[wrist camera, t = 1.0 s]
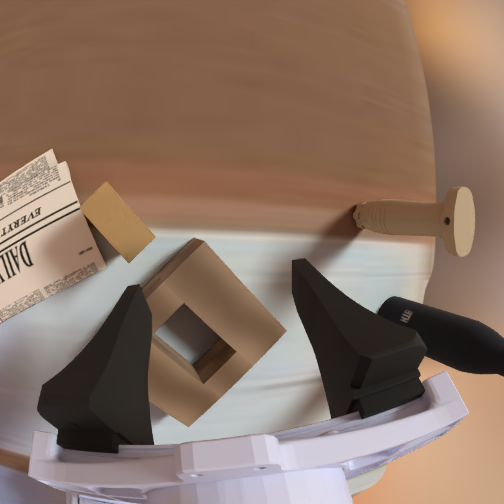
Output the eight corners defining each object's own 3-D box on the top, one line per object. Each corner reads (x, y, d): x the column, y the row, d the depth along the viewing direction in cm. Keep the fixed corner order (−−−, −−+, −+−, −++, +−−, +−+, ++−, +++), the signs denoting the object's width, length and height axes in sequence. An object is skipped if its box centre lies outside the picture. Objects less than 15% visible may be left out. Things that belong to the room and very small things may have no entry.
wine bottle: (399, 333, 43) (564, 398, 15) (372, 340, 40) (555, 421, 13) (406, 294, 42) (583, 346, 15) (379, 297, 40) (580, 362, 12)
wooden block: (128, 249, 26) (129, 263, 19) (92, 209, 24) (79, 207, 17) (147, 230, 27) (155, 236, 19) (112, 190, 25) (106, 181, 18)
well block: (180, 405, 30) (188, 427, 26) (94, 339, 26) (90, 356, 22) (268, 318, 33) (286, 330, 29) (194, 237, 28) (204, 241, 25)
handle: (346, 242, 36) (452, 258, 22) (346, 188, 35) (453, 184, 21) (373, 240, 38) (473, 254, 24) (373, 191, 37) (474, 189, 23)
